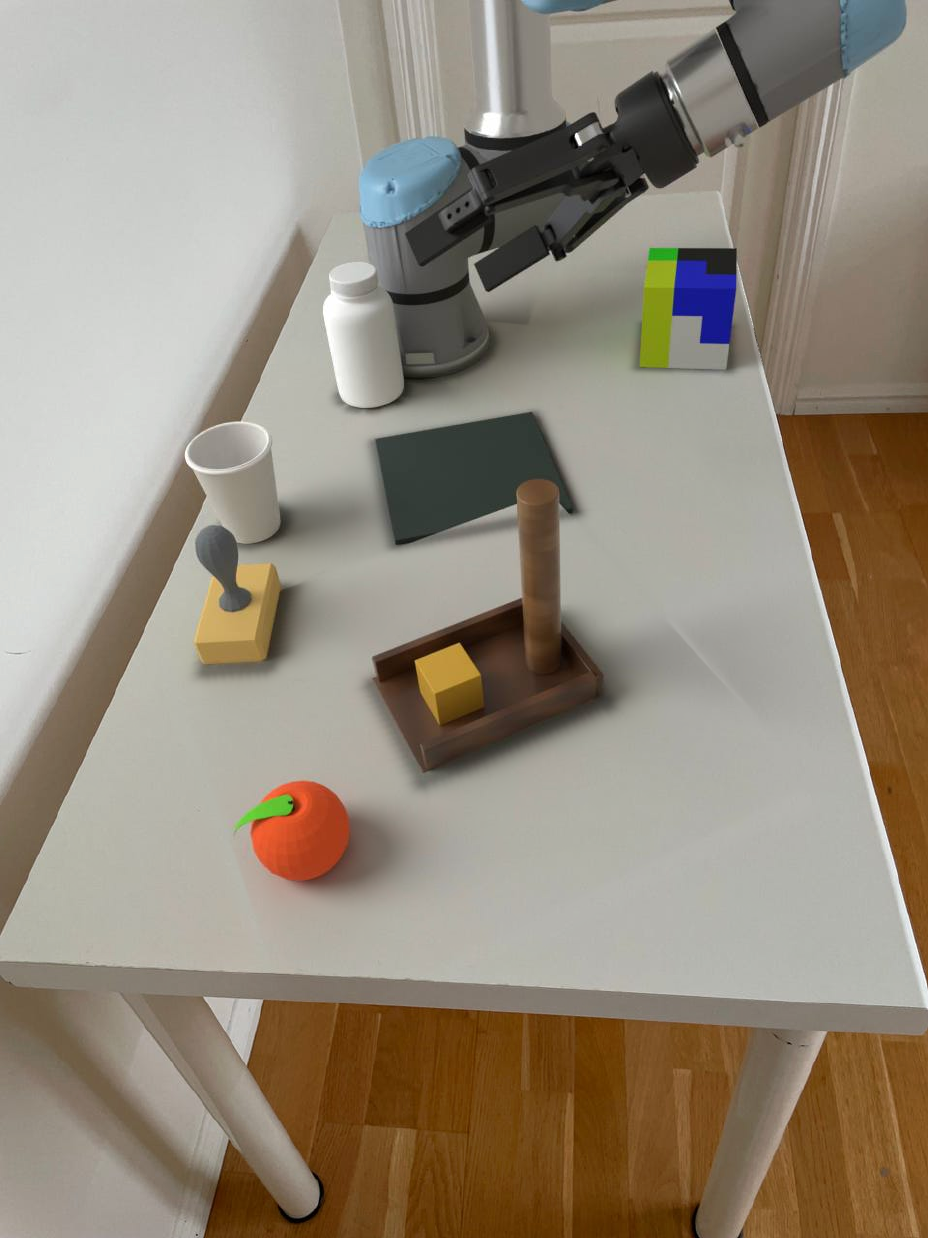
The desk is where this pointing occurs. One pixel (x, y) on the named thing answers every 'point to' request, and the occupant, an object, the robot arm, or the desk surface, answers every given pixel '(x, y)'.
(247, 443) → the dixie cup
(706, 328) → the puzzle toy
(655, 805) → the desk surface
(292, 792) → the clementine
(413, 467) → the mat
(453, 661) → the block
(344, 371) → the pill bottle
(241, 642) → the rubber stamp
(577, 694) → the wooden peg tray
